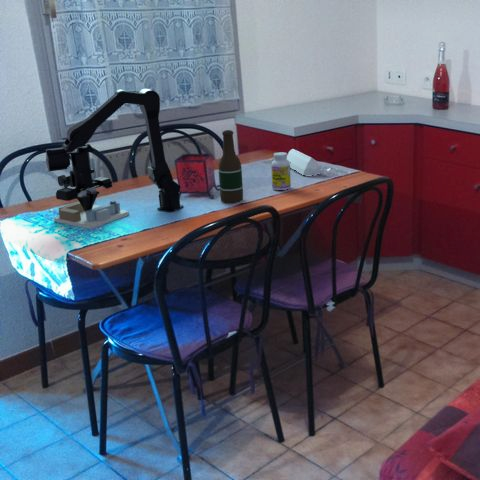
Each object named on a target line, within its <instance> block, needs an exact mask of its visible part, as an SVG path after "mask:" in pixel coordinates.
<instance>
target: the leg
mask: <svg viewBox="0 0 480 480" xmlns="http://www.w3.org/2000/svg"><path fill="white" fill-rule="evenodd" d="M99 206H100V207H97V208H94V209H91V210H88V211H86V218H87V220H88V221H94V220H96V213H95V212H96V211H99V210H102V209H109V212H110V215H112V214H115V213H118V212H120V210H121V205H120V202H119V201H116V200H111V201H110V202H109V203H106V204H103V205H99Z"/></svg>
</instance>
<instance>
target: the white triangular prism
mask: <svg viewBox="0 0 480 480" xmlns="http://www.w3.org/2000/svg"><path fill="white" fill-rule="evenodd" d="M287 160H288V161H289V162H291V163H290V167H291V168H292V169H294V170H296V171H297V172H296V171H295V172H296V173H298V172H299V173H301V174H302V175H301V174H300V175H301V176H303V175H315V174H318V173H320V174H322V169H321V166H320V165H319V164H320V163H318V161H317V160H315V159H314V158H313V157H311V156H309V155H306V154H304V153H303V152H301V151H298V150H297V149H294V148H292V149H290V150H289V151H288V153H287ZM292 169H291V170H292ZM294 170H293V171H294ZM299 173H298V174H299Z"/></svg>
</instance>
